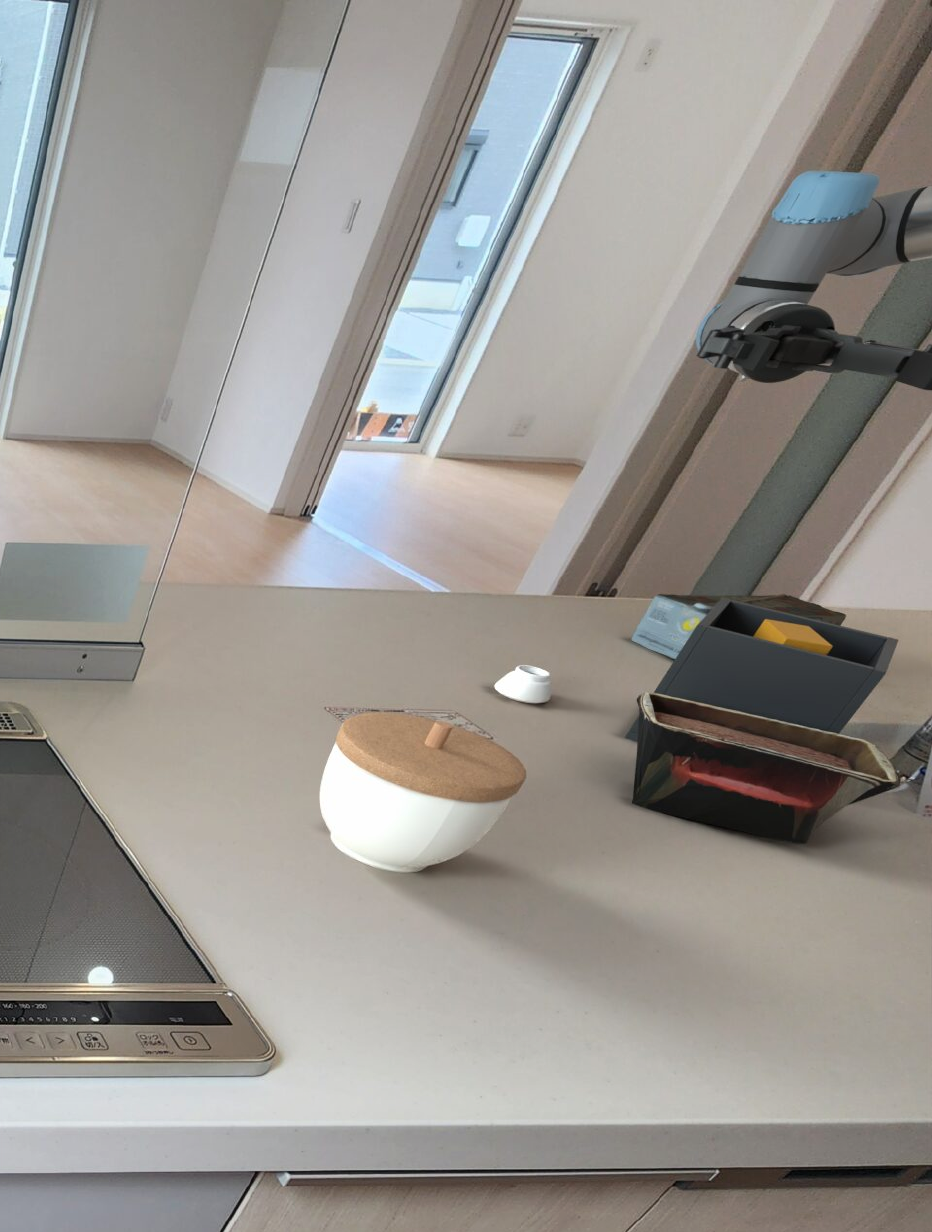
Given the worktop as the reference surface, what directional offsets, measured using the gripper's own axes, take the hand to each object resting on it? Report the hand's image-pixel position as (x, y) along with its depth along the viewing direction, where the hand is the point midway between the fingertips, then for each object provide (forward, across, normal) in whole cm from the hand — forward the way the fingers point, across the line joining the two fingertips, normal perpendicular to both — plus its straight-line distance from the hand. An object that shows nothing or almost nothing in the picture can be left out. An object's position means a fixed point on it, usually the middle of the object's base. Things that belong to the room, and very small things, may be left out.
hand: (851, 365), depth 103 cm
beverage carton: (-14, -10, -32) cm, 37 cm away
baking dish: (+36, +4, -32) cm, 49 cm away
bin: (+20, -1, -32) cm, 38 cm away
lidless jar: (+17, +16, -32) cm, 40 cm away
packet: (+20, -1, -31) cm, 37 cm away
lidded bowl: (+62, +33, -32) cm, 77 cm away
